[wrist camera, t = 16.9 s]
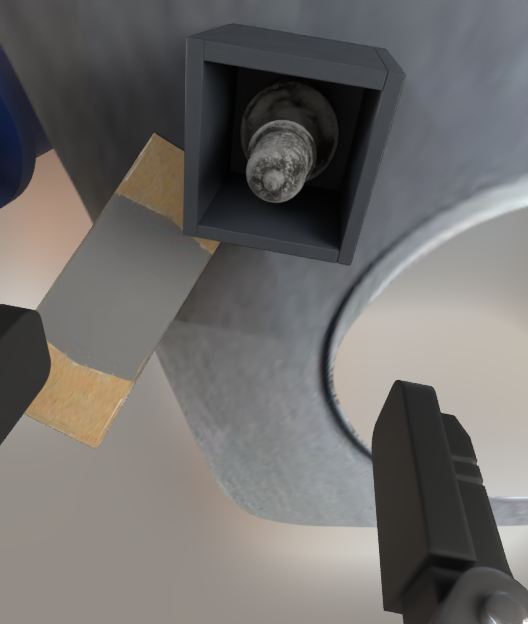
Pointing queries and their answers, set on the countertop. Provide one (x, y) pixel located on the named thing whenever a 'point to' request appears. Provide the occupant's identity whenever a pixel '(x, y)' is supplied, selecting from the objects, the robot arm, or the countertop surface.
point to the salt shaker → (287, 137)
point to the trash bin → (232, 162)
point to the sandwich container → (118, 296)
